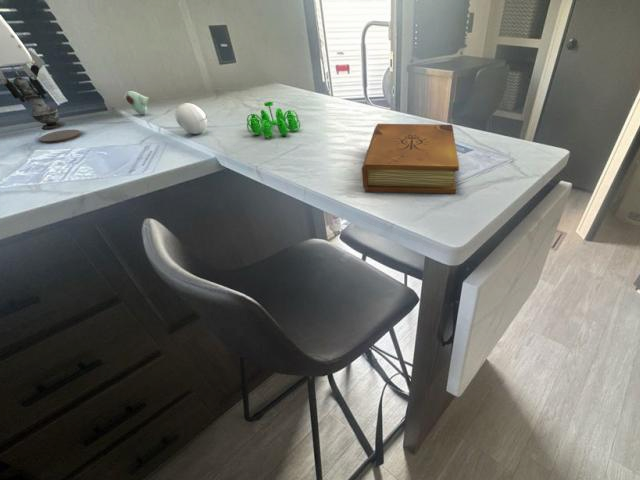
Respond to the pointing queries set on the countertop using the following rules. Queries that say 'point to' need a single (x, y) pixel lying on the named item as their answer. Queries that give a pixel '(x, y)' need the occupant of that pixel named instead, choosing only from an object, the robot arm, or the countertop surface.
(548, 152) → the countertop surface
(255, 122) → the chandelier
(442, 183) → the diary
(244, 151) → the countertop surface
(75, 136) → the coaster
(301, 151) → the countertop surface
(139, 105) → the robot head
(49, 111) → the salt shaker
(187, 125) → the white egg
